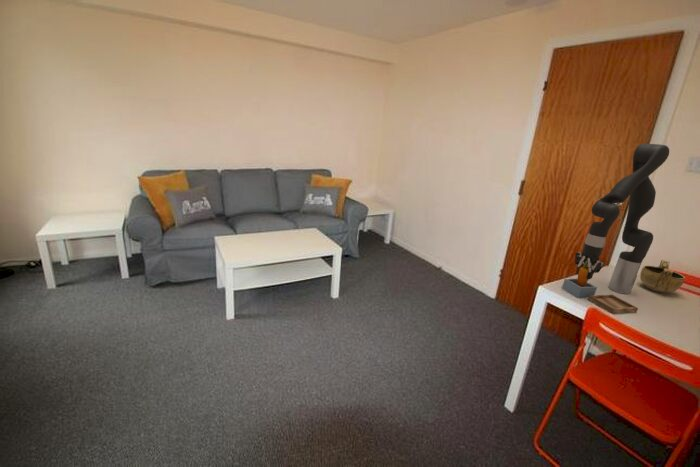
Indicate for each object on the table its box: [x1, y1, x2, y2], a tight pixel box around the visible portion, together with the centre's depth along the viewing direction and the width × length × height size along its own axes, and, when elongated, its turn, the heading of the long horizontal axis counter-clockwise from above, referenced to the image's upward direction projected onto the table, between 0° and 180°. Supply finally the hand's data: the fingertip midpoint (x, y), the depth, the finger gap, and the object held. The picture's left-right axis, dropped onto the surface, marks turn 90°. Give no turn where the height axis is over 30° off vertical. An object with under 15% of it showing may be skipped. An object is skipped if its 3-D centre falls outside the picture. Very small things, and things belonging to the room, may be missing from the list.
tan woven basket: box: [639, 259, 686, 294], centre depth 178 cm, size 22×17×15 cm
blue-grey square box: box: [561, 278, 598, 299], centre depth 166 cm, size 10×10×6 cm
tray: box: [587, 294, 639, 315], centre depth 156 cm, size 14×12×2 cm
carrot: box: [576, 261, 593, 287], centre depth 164 cm, size 5×5×15 cm
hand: (583, 276), depth 164 cm, fingers closed on carrot, 4 cm apart
